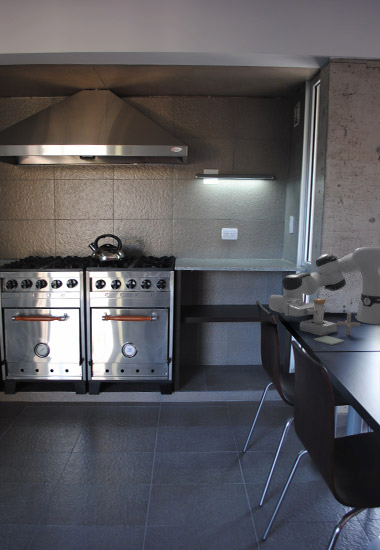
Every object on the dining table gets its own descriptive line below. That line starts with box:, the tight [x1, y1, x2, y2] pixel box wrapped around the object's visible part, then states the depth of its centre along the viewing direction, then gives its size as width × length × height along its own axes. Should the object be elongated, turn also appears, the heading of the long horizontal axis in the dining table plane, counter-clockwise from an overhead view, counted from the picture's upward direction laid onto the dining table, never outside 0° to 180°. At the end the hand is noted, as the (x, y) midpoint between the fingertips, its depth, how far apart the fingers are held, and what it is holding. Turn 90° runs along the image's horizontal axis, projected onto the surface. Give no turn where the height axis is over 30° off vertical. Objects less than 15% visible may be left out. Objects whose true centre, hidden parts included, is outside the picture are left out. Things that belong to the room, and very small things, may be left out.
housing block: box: [299, 318, 338, 337], centre depth 212 cm, size 12×12×4 cm
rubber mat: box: [313, 335, 345, 346], centre depth 196 cm, size 9×9×1 cm
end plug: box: [312, 297, 326, 325], centre depth 211 cm, size 5×5×15 cm
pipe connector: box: [336, 312, 361, 336], centre depth 206 cm, size 10×10×10 cm
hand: (320, 312), depth 210 cm, fingers closed on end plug, 4 cm apart
